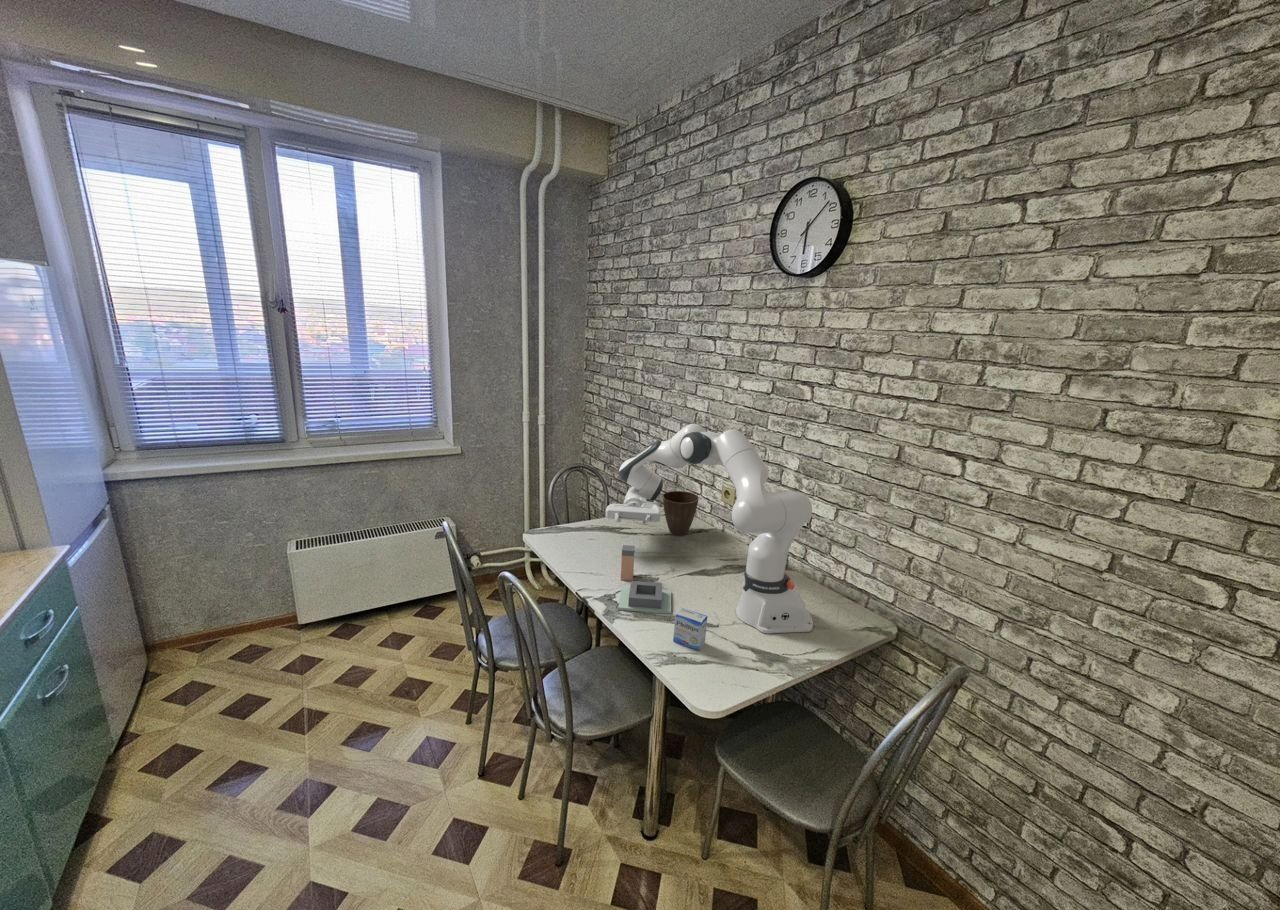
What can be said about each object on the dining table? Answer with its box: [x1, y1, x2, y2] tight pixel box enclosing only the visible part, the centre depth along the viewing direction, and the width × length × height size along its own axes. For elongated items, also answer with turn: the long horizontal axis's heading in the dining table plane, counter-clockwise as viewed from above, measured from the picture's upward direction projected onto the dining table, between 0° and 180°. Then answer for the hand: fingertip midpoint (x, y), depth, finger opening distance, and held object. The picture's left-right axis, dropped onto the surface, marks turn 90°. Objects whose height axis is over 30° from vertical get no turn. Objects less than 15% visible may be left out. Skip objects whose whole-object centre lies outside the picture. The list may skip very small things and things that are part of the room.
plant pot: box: [662, 490, 699, 537], centre depth 204 cm, size 15×15×16 cm
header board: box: [617, 580, 672, 615], centre depth 153 cm, size 16×12×4 cm
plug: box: [620, 544, 636, 582], centre depth 166 cm, size 4×4×11 cm
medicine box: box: [672, 606, 708, 651], centre depth 133 cm, size 8×4×9 cm, turn 62°
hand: (631, 521), depth 175 cm, fingers open, 8 cm apart
